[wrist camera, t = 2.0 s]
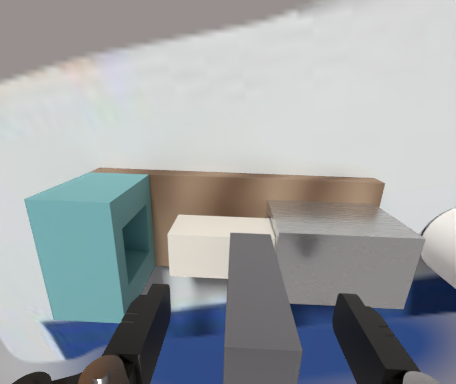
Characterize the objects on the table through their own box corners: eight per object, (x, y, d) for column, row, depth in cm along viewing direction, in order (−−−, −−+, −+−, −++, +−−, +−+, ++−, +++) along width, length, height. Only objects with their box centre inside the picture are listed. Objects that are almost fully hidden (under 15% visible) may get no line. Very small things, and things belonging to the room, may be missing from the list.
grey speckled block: (373, 203, 18) (425, 238, 13) (360, 258, 20) (403, 309, 15) (267, 199, 19) (278, 232, 14) (262, 254, 20) (271, 302, 15)
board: (374, 178, 19) (384, 183, 18) (354, 264, 22) (362, 275, 20) (100, 167, 20) (89, 172, 18) (111, 253, 22) (103, 263, 21)
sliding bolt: (375, 218, 17) (565, 365, 7) (365, 262, 18) (516, 440, 8) (178, 210, 18) (102, 340, 8) (179, 254, 19) (115, 417, 9)
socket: (148, 174, 18) (109, 202, 13) (155, 265, 21) (125, 323, 15) (89, 172, 18) (24, 199, 13) (103, 263, 21) (53, 319, 15)
